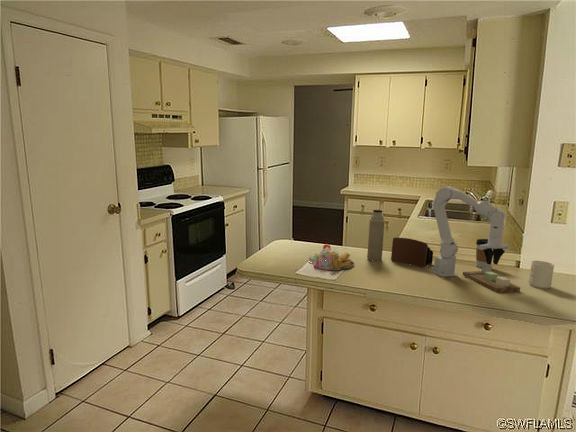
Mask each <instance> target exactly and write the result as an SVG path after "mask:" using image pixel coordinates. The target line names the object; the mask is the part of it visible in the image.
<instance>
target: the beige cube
mask: <svg viewBox="0 0 576 432" xmlns="http://www.w3.org/2000/svg"><path fill="white" fill-rule="evenodd" d="M510 283H511V279H510V278H508V277H505V276H497V277H496V283H495V284H497V285H499V286H501V287H509V286H510Z"/></svg>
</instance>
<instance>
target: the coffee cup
mask: <svg viewBox="0 0 576 432" xmlns="http://www.w3.org/2000/svg"><path fill="white" fill-rule="evenodd" d="M475 244H476V247H475V259H476V260H475V267H476V266H478V267H477V268H479V267H482V264H487V261H486V256H485V253H484V251H483V250H481V249H479V245H483V244H488V238H482V239H481V238H480V239H479V238H478V239H476V242H475Z"/></svg>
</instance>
